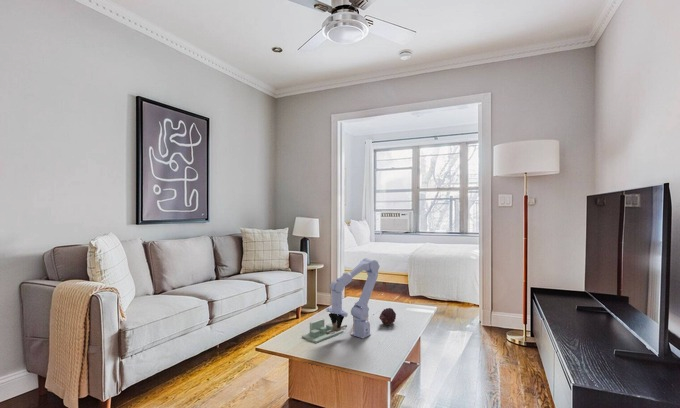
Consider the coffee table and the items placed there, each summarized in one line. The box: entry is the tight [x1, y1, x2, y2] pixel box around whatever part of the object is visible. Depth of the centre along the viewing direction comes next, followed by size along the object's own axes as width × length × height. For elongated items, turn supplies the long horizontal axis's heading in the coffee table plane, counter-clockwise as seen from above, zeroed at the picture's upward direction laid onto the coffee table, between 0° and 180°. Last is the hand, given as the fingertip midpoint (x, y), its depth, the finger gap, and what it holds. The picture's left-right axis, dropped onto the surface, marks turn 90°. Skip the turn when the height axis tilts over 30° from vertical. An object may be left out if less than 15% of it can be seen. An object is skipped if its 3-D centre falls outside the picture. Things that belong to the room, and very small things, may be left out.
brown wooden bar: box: [326, 322, 348, 335], centre depth 198 cm, size 4×16×4 cm, turn 137°
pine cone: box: [379, 307, 397, 326], centre depth 224 cm, size 18×10×10 cm, turn 153°
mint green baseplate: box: [301, 318, 344, 344], centre depth 205 cm, size 12×22×7 cm, turn 137°
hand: (336, 326), depth 198 cm, fingers closed on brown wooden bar, 3 cm apart
